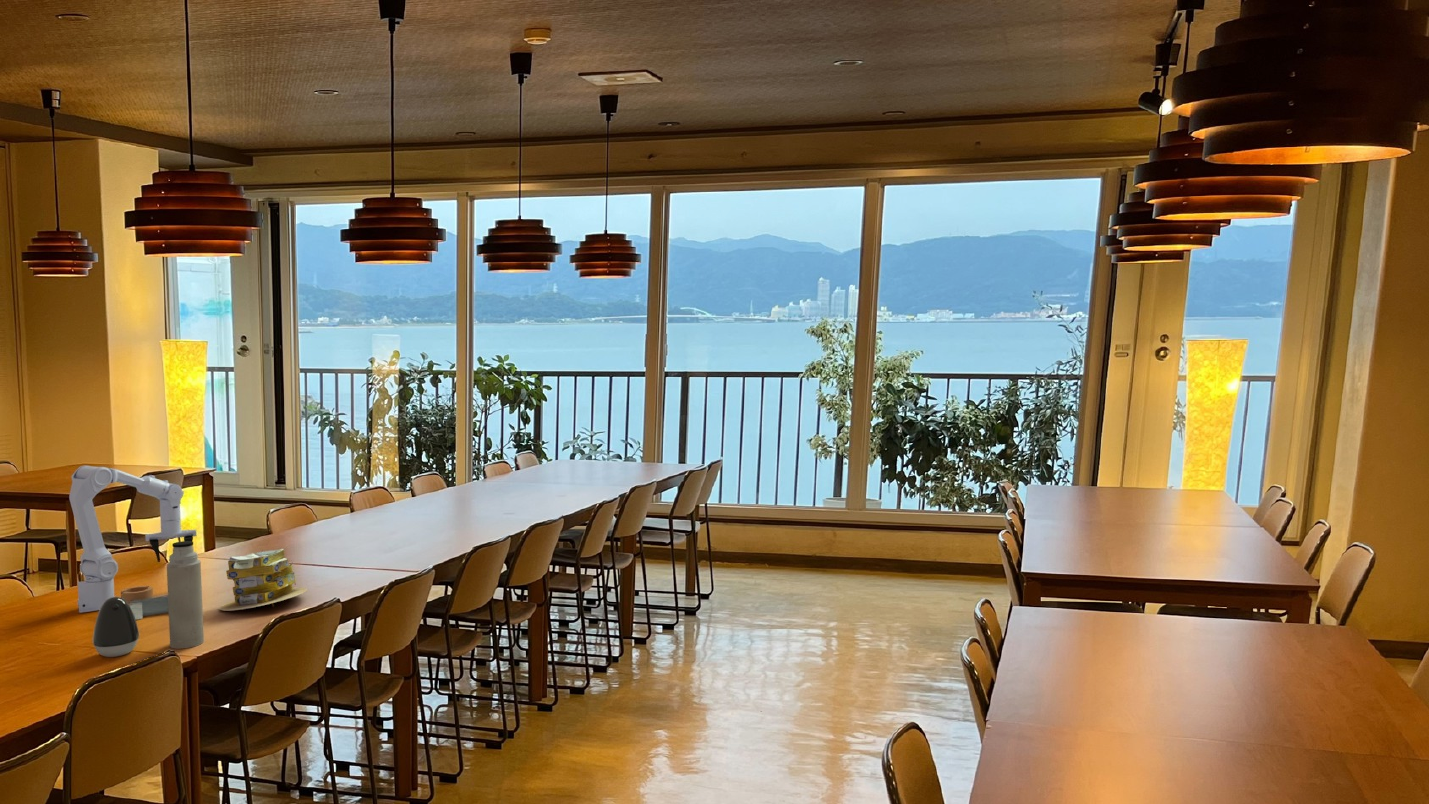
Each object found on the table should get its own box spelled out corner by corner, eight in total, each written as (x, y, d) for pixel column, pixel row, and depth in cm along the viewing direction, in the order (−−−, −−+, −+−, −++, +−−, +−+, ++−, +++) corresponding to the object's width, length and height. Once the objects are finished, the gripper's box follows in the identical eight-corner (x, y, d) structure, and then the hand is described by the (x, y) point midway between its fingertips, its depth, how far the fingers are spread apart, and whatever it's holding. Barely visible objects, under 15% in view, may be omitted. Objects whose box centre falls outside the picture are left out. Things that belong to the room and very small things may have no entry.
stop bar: (130, 620, 272) (129, 603, 271) (130, 616, 275) (129, 600, 275) (196, 611, 281) (195, 594, 281) (195, 607, 285) (194, 591, 284)
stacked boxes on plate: (200, 612, 280) (198, 558, 279) (262, 591, 304) (260, 541, 303) (267, 619, 273) (265, 563, 272) (324, 596, 297) (323, 545, 296)
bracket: (129, 617, 276) (128, 594, 275) (116, 612, 280) (115, 590, 280) (191, 603, 290) (190, 581, 290) (179, 599, 295) (178, 577, 295)
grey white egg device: (94, 663, 235) (91, 604, 234) (92, 652, 244) (90, 596, 243) (141, 655, 241) (138, 598, 240) (138, 644, 250) (135, 589, 249)
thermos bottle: (180, 639, 254) (175, 539, 252) (209, 638, 254) (205, 538, 253) (163, 648, 246) (159, 545, 244) (194, 648, 246) (189, 545, 245)
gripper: (194, 515, 312) (196, 554, 313) (144, 519, 304) (146, 560, 305) (196, 518, 306) (197, 558, 307) (145, 523, 298) (146, 564, 299)
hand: (172, 559), depth 306 cm, fingers open, 7 cm apart
